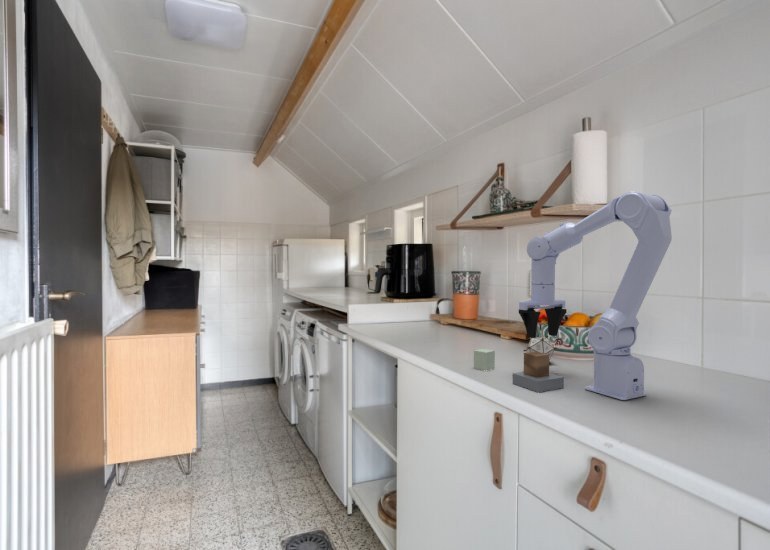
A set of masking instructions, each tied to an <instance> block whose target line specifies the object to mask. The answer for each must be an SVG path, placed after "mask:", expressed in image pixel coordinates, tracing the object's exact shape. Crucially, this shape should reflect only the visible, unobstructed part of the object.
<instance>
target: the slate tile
mask: <svg viewBox="0 0 770 550" xmlns="http://www.w3.org/2000/svg"><path fill="white" fill-rule="evenodd" d="M564 379H565V377H564V376H560V375H557V374H553V373H551V372H549V376H544V377H538V378H536V377H533V376H529V375H526V374H524V371H520V372H519V371H518V372H513V373H512V384H513V385H515V384H516V385H515V386H518V385H519V387H521V386H522V388H524V387H525V389H527V388H528V389H527V390H530V389H531V390H530V391H533V390H534V391H533V392H536V391H537V393H538V392H539V393H542V392H541V391H544V392H549V391H548V390H550V391H555V390H559V388H561V389H564V386H565V385H564V382H565V381H564Z"/></svg>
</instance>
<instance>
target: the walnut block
mask: <svg viewBox="0 0 770 550" xmlns="http://www.w3.org/2000/svg"><path fill="white" fill-rule="evenodd" d="M549 362H550V361H549V354H545V353H541V352H536V351H535V352H527V351H526V352H524V353H523V372H524V374H526V375H529V376H533V377H536V378H538V377H544V376H549V373H550V364H549Z"/></svg>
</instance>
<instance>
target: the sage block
mask: <svg viewBox="0 0 770 550" xmlns="http://www.w3.org/2000/svg"><path fill="white" fill-rule="evenodd" d="M495 353H496V352H495V350H494V349H493V350H492V349H488V348H487V349H486V348H479V349H475V350H473V369H474V368H477V369H476V370H479V369H482V370H481V371H483V370H485V371H484V372H487V371H486V370H488V371H491V370H490V369H492V370H495V369H494V368H495V367H496V364H495V362H496V361H495V357H496V355H495Z"/></svg>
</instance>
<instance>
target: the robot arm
mask: <svg viewBox="0 0 770 550" xmlns="http://www.w3.org/2000/svg"><path fill="white" fill-rule="evenodd" d="M671 215H672V209H671V207H670V206H669V204H668V203H667V201H666V199H664V198H663V197H662V196H660V195H656V194H646V193H642V192H640V191H637V190H634V191H633V190H631V191H628V192H625V193H623V194H622V195H621V196H618V197H615V198H613V199H612V200H611V201H609V203H607V204H605V205H604V206H603V207H601V208H599V209H598V210H595V211H594V212H593V213H591V214H590V215H588V216H586V217H585V218H582V220H579V221H578V222H576V223H574V222H562V223H560V224H559V227H557V228H555V229H554V230H552V231H550V232H549V231H547V232H545V233H544V235H543V237H542V236H534V237H533V238H532V239H530V240H529V242H528V243H527V245H526V252H527V255H528V257H529V258H530V259H531V262H530V263H531V273H530V274H531V277H530V278H531V281H530V282H531V283H530V284H531V285H530V287H531V288H530V293H531V294H530V299H529V300H526V301H518V305H519V306H518V314H519V316H520V317H521V319H522V321H523V325H524V327H525V331H526V335H527V338H528V339H529V338H530V339H531V338H536V337H537V332H538V331H537V330H538V329H537V328H538V322H539V318H540V315H541V312H540V311H537V310H540V309H544V311H545V315H546V318H547V319H546V321H547V331H548V336H552V337H557V336H558V333H559V330H560V326H561V323H562V321H563V319H564V317H565V315H566V314H567V310H568V309H566V300H565V299H564V300H563V299H555V297H556V296H555V294H556V291H555V290H556V287H555V286H556V265H557V259H558V257H559V256H560V254H562V253H563V252H565V251H567V250H569V249H571V248H573V247H575V246H577V245H579V244H581V242H582V241H583V238H584V236H585V235H588V234H590V233H593V232H595V231H597V230H598V229H601V228H604V227H605V226H608V225H610V224H612V223H614V222H623V223H624V224H625V225H626V226H627V227H629V228H630V229H631V230H632V232H633V233H634V235H635V237H636V238H637V241H638V242H637V244H636V247H635V249H634V251H633V252H632V253H633V254H632V256H631V258H630V260H629V263H628V265H627V268H626V270H625V271H624V274H623V276H622V279H621V280H620V283H619V285H618V288H617V289H616V292H615V294H614V297H613V299H612V301H611V304H610V306H609V307H608V308H607V310H605V311H604V312H603V313H602V314H601V315H600V316H599V318H598V320H597V322H596V323H595V324H594V325H592V326H591V327H590V328H589V330H588V333H587V340H588V344H589V345H590V347H591V348H592V349H593V384H592V385H587V386H585V387H584V390H587V391H590V392H592V393H593V392H594V393H597V394H601V395H603V396H607V397H611V398H614V399H618V400H621V401H627V400H632V399H636V398H640V397H644V396H647V394H646V392H644V391H645V389H644V388H645V386H644V385H645V366H644V362H643V361H642V359H641V358H639V357H636V356H633V355H632V354H631V347H633V346H634V344H635V343H636V341H637V337H638V336H637V329H638V326H639V321H638V318H637V315H638V313H639V311H640V309H641V306H642V304H643V303H644V300H645V298H646V296H647V293H648V292H649V290H650V288H651V285H652V283H653V280H654V278H655V276H656V275H657V272H658V270H659V267H660V266H661V264H662V261H663V259H664V258H665V255H666V253H667V251H668V248H669V247H670V244H671V242H672V238H673V237H672V226H671V218H670V216H671Z"/></svg>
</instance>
